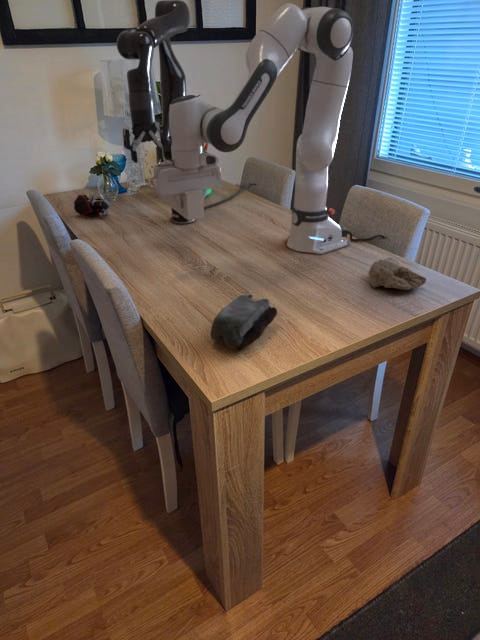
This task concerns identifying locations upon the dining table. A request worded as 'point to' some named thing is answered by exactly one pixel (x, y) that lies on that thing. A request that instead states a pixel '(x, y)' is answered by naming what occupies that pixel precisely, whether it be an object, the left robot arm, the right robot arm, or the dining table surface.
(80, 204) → the toy
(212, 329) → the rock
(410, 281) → the artifact
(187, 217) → the bar
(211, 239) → the dining table surface
